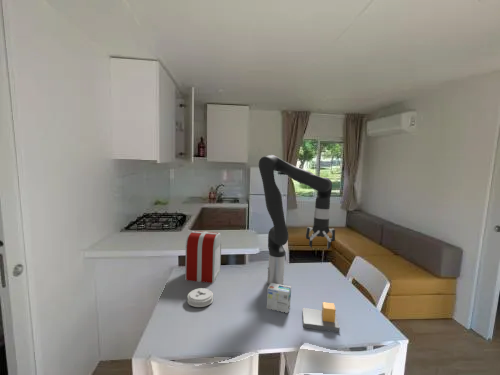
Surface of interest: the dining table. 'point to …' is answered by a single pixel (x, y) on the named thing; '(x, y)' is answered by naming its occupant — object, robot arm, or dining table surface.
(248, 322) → the dining table surface
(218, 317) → the dining table surface
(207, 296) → the lid
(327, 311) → the orange block
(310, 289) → the dining table surface
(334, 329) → the plate
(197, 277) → the red striped box
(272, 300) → the light bulb box
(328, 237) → the robot arm
